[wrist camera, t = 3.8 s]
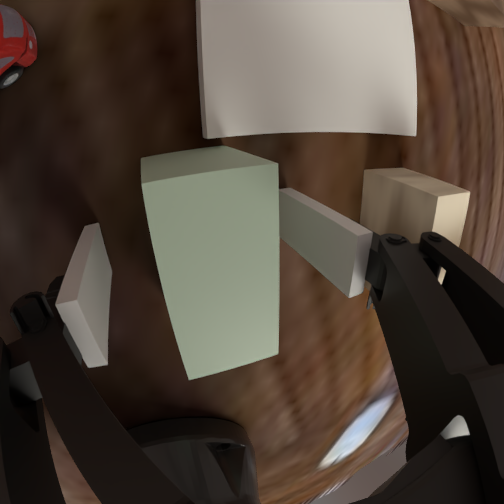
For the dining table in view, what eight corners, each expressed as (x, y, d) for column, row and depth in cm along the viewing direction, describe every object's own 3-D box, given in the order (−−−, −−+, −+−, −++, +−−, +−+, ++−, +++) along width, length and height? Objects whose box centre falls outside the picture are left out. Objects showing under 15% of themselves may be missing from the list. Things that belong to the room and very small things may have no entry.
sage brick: (234, 284, 17) (278, 353, 12) (168, 300, 16) (189, 380, 11) (223, 145, 13) (278, 163, 8) (140, 157, 12) (141, 183, 7)
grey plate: (405, 134, 17) (416, 136, 16) (203, 137, 13) (207, 139, 12) (389, -42, 10) (398, -45, 9) (196, -93, 6) (201, -102, 5)
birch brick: (388, 264, 22) (441, 301, 17) (352, 276, 21) (407, 321, 16) (402, 167, 18) (470, 191, 13) (363, 169, 17) (438, 196, 12)
